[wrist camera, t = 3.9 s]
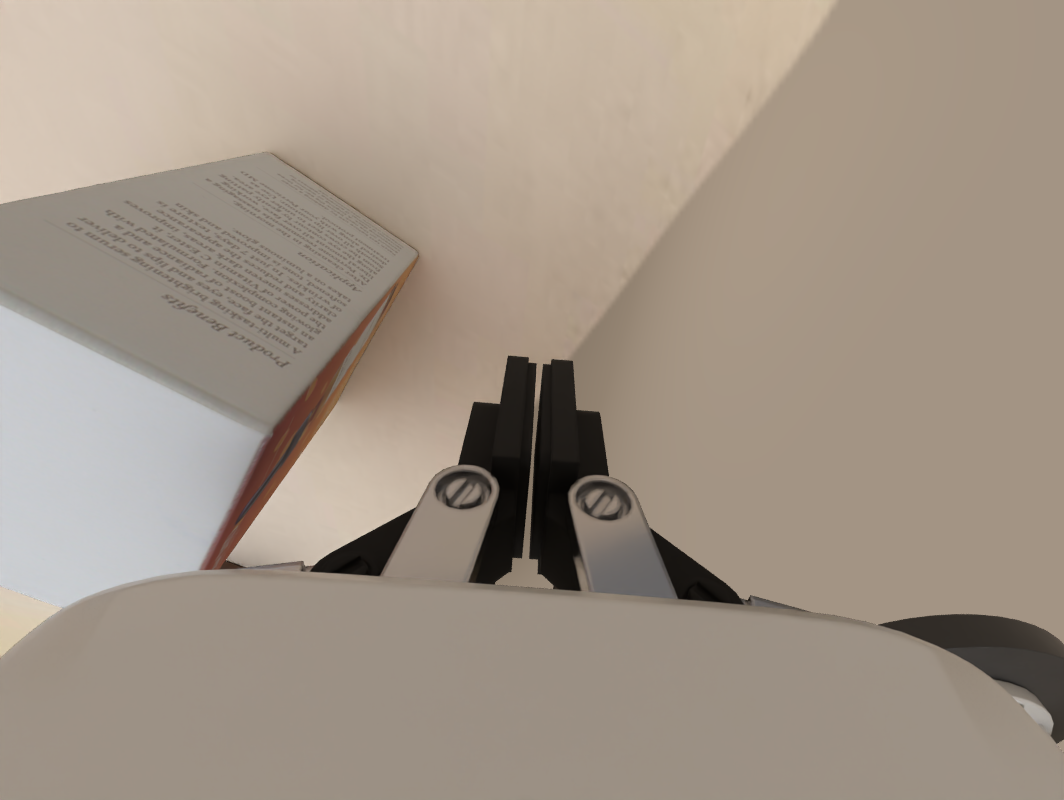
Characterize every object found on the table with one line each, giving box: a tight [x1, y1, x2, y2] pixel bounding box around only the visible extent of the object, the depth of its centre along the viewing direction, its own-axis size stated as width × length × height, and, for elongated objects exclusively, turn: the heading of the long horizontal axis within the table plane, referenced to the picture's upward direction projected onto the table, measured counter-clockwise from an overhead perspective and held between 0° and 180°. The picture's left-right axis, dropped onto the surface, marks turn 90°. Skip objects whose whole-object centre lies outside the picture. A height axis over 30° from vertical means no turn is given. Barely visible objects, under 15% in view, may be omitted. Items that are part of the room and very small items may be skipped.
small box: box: [0, 152, 419, 608], centre depth 13 cm, size 8×6×10 cm
